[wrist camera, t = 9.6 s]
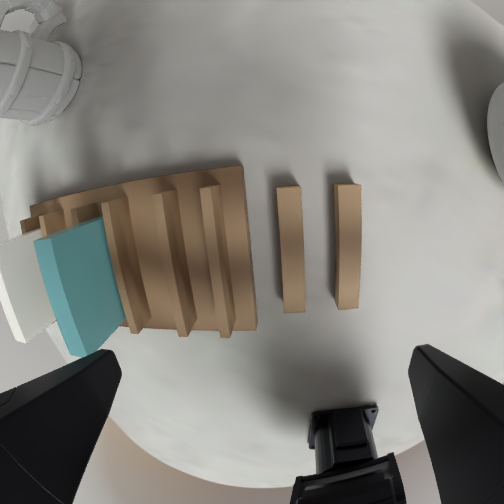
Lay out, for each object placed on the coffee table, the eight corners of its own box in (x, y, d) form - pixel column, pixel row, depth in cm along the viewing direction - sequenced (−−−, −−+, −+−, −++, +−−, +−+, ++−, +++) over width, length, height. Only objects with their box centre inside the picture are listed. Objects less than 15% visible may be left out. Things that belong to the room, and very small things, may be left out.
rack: (257, 321, 20) (252, 350, 17) (65, 314, 23) (43, 331, 19) (243, 166, 17) (233, 165, 14) (38, 203, 20) (10, 211, 16)
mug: (24, 130, 18) (-76, 136, 6) (49, 23, 14) (-33, -4, 3) (76, 121, 17) (-49, 116, 6) (106, 1, 14) (20, -52, 2)
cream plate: (78, 302, 21) (26, 343, 14) (66, 301, 21) (16, 340, 14) (58, 223, 19) (-6, 247, 12) (47, 225, 19) (-15, 248, 12)
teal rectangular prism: (139, 305, 20) (89, 358, 13) (122, 304, 20) (70, 354, 13) (119, 212, 18) (50, 238, 11) (102, 215, 18) (33, 241, 11)
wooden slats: (353, 298, 19) (358, 308, 18) (284, 302, 20) (284, 313, 18) (354, 183, 17) (360, 185, 15) (276, 186, 17) (276, 188, 16)
